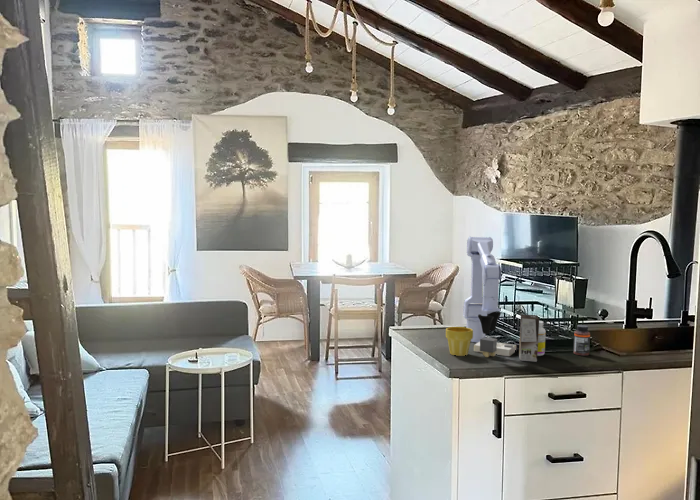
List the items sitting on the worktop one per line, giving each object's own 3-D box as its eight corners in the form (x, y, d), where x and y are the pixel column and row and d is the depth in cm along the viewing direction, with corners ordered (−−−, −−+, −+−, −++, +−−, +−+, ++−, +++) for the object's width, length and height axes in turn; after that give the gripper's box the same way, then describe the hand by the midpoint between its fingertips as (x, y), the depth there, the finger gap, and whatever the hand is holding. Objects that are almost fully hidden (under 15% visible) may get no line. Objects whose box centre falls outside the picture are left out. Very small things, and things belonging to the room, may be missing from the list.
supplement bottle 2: (577, 351, 265) (579, 323, 264) (592, 354, 260) (593, 326, 259) (570, 354, 260) (571, 325, 260) (584, 356, 256) (586, 327, 255)
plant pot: (442, 351, 260) (443, 326, 259) (467, 351, 261) (468, 326, 260) (448, 357, 250) (449, 331, 249) (475, 357, 251) (476, 332, 250)
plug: (483, 353, 257) (483, 337, 257) (496, 355, 255) (497, 338, 254) (479, 356, 253) (480, 339, 253) (492, 358, 251) (493, 341, 250)
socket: (481, 346, 270) (481, 338, 269) (515, 351, 263) (516, 343, 263) (473, 351, 261) (473, 343, 261) (508, 356, 254) (509, 348, 254)
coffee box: (537, 362, 246) (539, 319, 245) (519, 360, 248) (521, 318, 246) (535, 356, 255) (537, 314, 254) (518, 355, 257) (520, 313, 255)
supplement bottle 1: (524, 352, 262) (525, 319, 261) (540, 351, 262) (542, 319, 261) (530, 356, 255) (531, 323, 254) (547, 356, 256) (548, 323, 254)
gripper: (495, 300, 244) (493, 336, 245) (506, 295, 256) (504, 330, 258) (476, 298, 247) (475, 334, 248) (488, 293, 260) (487, 327, 261)
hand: (488, 332), depth 253 cm, fingers open, 7 cm apart
